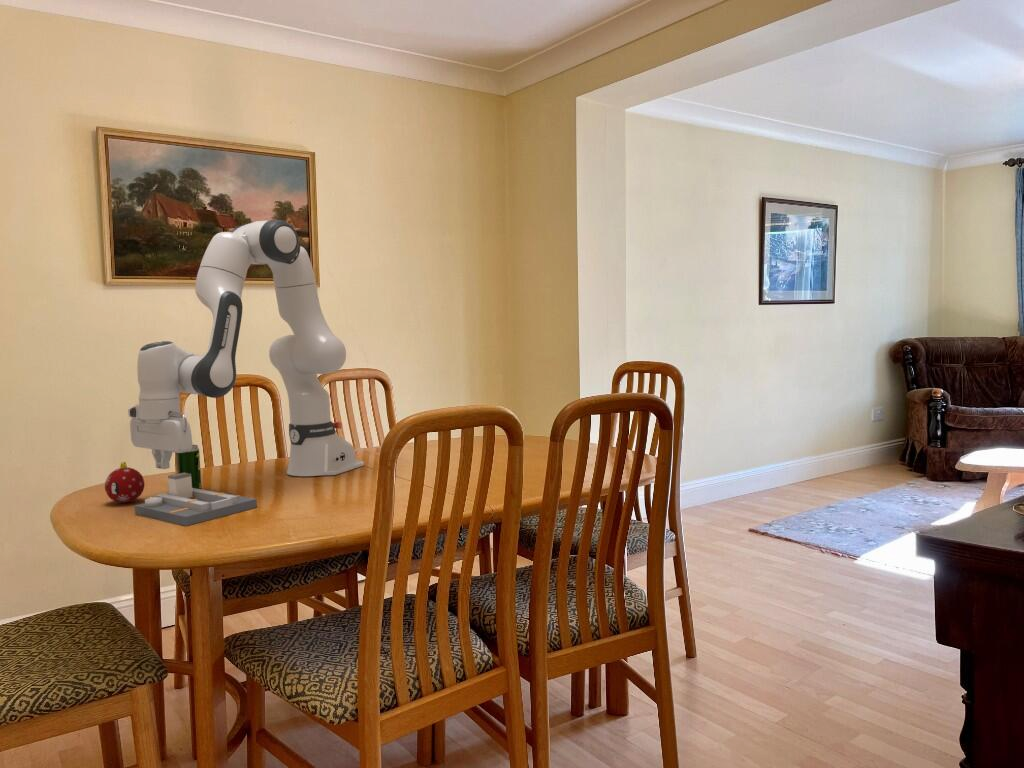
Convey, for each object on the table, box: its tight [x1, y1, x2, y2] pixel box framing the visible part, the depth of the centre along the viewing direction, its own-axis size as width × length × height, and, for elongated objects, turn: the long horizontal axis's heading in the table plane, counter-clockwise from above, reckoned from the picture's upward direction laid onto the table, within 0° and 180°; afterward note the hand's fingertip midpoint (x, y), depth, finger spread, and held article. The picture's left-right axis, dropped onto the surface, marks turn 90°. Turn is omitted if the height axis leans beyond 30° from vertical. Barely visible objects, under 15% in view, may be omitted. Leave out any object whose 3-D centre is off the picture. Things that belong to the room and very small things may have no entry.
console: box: [134, 488, 258, 527], centre depth 175 cm, size 18×20×4 cm
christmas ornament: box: [104, 461, 145, 504], centre depth 185 cm, size 9×9×10 cm
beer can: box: [176, 444, 203, 490], centre depth 193 cm, size 5×5×12 cm
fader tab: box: [167, 473, 193, 498], centre depth 178 cm, size 4×3×6 cm
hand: (162, 468), depth 181 cm, fingers closed
